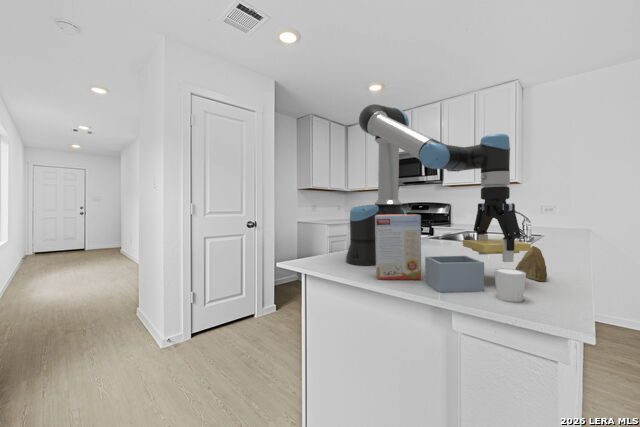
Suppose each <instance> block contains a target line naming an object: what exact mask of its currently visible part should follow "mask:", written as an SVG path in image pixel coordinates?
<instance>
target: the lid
mask: <svg viewBox="0 0 640 427" xmlns="http://www.w3.org/2000/svg"><path fill="white" fill-rule="evenodd" d="M462 246H463V247H465V248H468V249H471V250H472V251H473V252H480V253H484V254H485V255H500V254H502V255H503V238H495V239H494V238H492V239H491V238H490V239H489V238H488V239H486V240H478V239H464V240H462ZM531 247H532V245H531V243H528V242H523V241H518V240H514V254H520V253H521V252H528V251H531Z"/></svg>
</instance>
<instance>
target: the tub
mask: <svg viewBox="0 0 640 427" xmlns="http://www.w3.org/2000/svg"><path fill="white" fill-rule="evenodd" d="M424 258H425V259H424V263H425V264H424V268H425V269H424V270H425V271H424V278H425V279H424V281H425V282H424V283H425V284H427V285H428V286H430V287H431V288H432V289H434V290H436V291H437V292H438V293H455V292H456V293H459V292H484V291H485V285H484V284H485V262H484V261H481V260H478V259H476V258H473V257H470V256H467V255H444V256H443V255H438V256H425V257H424Z"/></svg>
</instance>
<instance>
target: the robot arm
mask: <svg viewBox="0 0 640 427" xmlns="http://www.w3.org/2000/svg"><path fill="white" fill-rule="evenodd" d="M358 124H359V127H360V129H361V130H362V131H363V132H365V133H367V134H369V135H370V136H373V137H375V138H374V141H375V143H377V144H378V170H377V171H378V174H377V175H378V178H377V179H378V180H377V181H378V184H377V189H378V190H377V191H378V192H377V196H378V197H377V198H378V199H377V200H376V201H375V202H374V204H366V205H358V206H357V205H356V206H353V207H352V208H351V209H350V212H349V236H350V237H349V240H350V241H349V242H350V243H349V246H348V250H347V253H346V257H345V258H346V259H345V260H346V261H345V262H346V263H347V264H350V265H353V266H354V265H355V266H376V244H375V215H388V214H407V212H406V210H405V209H404V208H403V203H402V202H401V201H400V199H399V175H400V171H399V168H400V167H399V166H400V164H399V163H400V149H401V150H402V151H404V152H405V153H408V154H410V155H411V156H413V157H415V158H416V159H418V160H419V161H420V163H421V164H422V166H424V167H425V168H427V169H428V168H429V169H433V170H446V171H447V172H461V171H462V172H463V171H469V170H470V171H471V170H479V169H480V186H481V189H480V199H481V200H482V201H483V200H484V202H480V203H479V202H478V204H477V212H476V216H475V217H476V218H475V222H474V225H473V232H474V233H476V234H477V240H486V239H489V235H488V234H489V233H488V230H489V227H490V225H491V223H492V220H493V219H495V220H497V223H498V225H499V227H500V230H501V232H502V233H503V236H504V237H503V238H502V239H503V254H502V263H513V262H514V261H515V260H514V257H515V256H514V254H515V253H514V241H516V239H518V238H519V239H520V238H521V237H522V236H521V230H520V227H519V222H518V219H517V214H516V204H515V203H513V202H512V203H507V200H509V199H510V196H511V193H510V190H511V189H510V188H511V187H510V186H508V185H510V184H511V179H510V177H511V174H510V173H511V172H510V164H511V163H510V162H511V160H510V159H511V157H510V156H511V146H510V144H511V143H510V136H509V135H508V134H505V133H495V134H489V135H484V136H482V137H481V139H480V142H479V143H480V144H476V145H471V146H459V145H458V146H457V145H451V144H445V143H443V142H441V141H438V140H437V139H434V138H433V137H430V136H428V135H426V134H424V133H422V132H420V131H419V130H416V129H413V128H412V127H410V126H409V125H410V120H409V117H408V115H407V114H406V112H405V111H403V110H402V109H399V108H397V107H396V108H395V107H390V106H385V105H381V104H374V103H373V104H369V105H367V106H365V107H364V108H363V109H362V111H360V114H359V117H358ZM478 255H483V256H485V255H486V254H484V253H480V252H478Z"/></svg>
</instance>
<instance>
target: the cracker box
mask: <svg viewBox="0 0 640 427" xmlns="http://www.w3.org/2000/svg"><path fill="white" fill-rule="evenodd" d="M421 219H422V215H421V214H417V213H412V214H411V213H410V214H408V213H406V214H388V215H375V244H376V265H375V275H376V279H377V280H413V281H414V280H418V281H419V280H422V230H421V228H422V226H421V224H422V220H421Z"/></svg>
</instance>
